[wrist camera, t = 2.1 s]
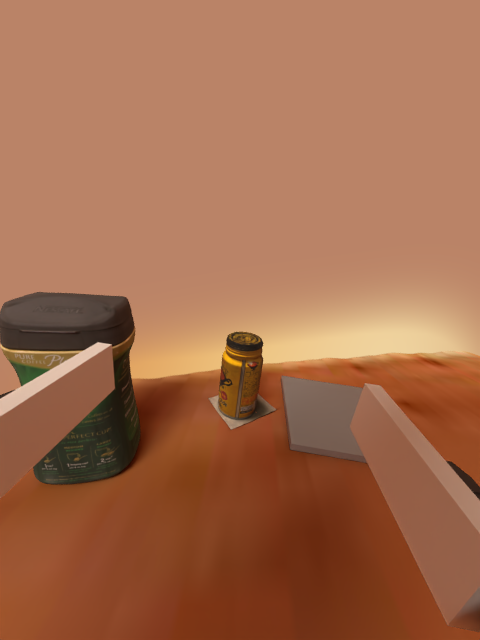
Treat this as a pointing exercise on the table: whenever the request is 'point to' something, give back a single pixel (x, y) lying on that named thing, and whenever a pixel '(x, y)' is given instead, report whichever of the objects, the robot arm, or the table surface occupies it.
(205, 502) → the table surface
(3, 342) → the coffee jar
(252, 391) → the condiment
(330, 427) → the plain gray board
